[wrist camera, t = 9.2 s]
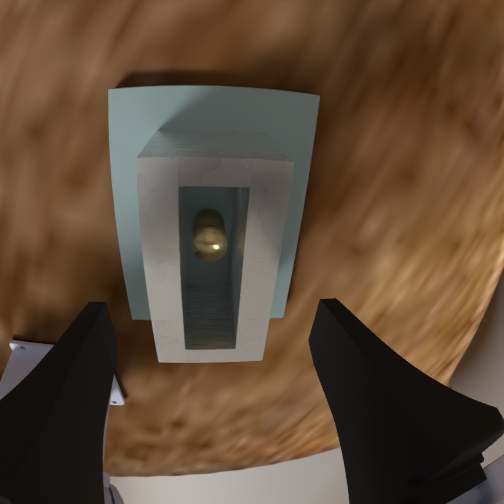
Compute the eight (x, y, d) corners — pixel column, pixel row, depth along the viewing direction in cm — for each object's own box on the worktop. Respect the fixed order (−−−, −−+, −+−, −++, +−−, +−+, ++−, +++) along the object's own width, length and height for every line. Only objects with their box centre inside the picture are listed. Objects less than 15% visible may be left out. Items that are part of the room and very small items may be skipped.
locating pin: (193, 235, 17) (192, 261, 15) (193, 208, 16) (192, 231, 14) (223, 235, 17) (226, 261, 15) (224, 208, 16) (228, 231, 14)
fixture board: (134, 309, 20) (132, 319, 20) (114, 88, 13) (108, 89, 12) (280, 307, 22) (283, 317, 21) (313, 94, 15) (320, 96, 14)
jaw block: (164, 298, 19) (158, 362, 15) (157, 130, 14) (135, 157, 10) (249, 297, 20) (262, 360, 16) (267, 133, 15) (294, 161, 10)
